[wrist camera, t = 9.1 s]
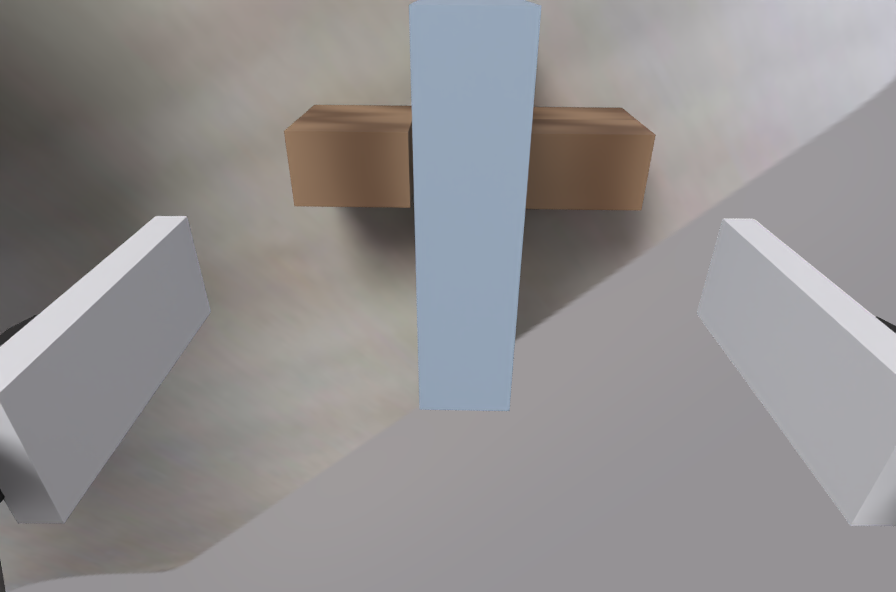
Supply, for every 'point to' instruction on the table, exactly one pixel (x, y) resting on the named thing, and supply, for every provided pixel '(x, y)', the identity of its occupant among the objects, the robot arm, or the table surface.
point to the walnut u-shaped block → (391, 158)
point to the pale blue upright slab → (470, 192)
